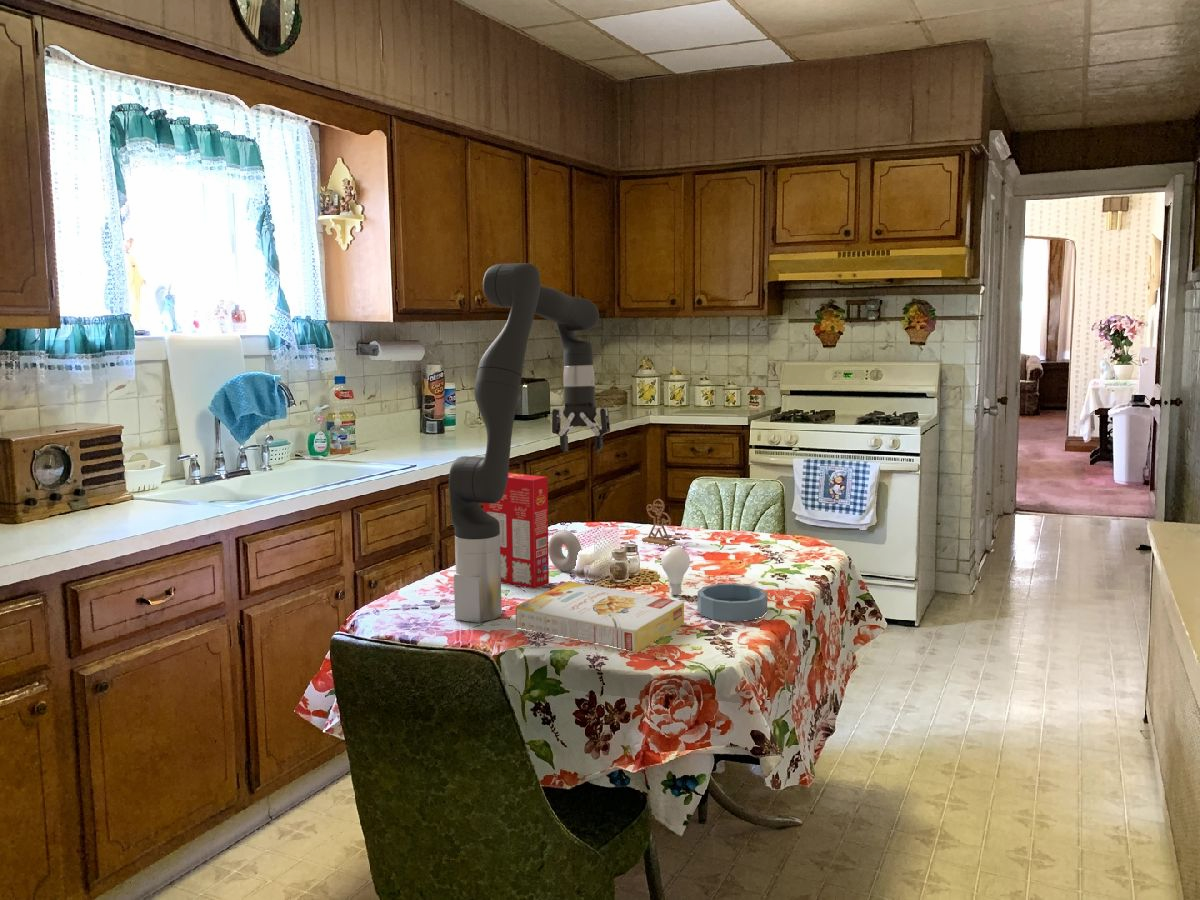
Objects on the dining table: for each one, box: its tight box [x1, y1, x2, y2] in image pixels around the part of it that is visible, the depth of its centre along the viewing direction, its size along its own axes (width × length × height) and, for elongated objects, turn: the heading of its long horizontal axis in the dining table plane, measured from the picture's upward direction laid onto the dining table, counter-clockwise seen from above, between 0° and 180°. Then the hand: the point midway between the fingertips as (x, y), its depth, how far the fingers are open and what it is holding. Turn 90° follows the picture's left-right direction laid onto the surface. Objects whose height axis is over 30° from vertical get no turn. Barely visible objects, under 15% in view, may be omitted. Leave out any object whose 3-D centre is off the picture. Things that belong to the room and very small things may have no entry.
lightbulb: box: [660, 546, 691, 597], centre depth 222 cm, size 6×6×11 cm
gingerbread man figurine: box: [641, 498, 677, 547], centre depth 271 cm, size 9×4×12 cm, turn 48°
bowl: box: [696, 583, 769, 622], centre depth 211 cm, size 14×14×4 cm
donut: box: [548, 530, 582, 572], centre depth 244 cm, size 10×3×10 cm, turn 48°
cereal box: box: [515, 580, 685, 653], centre depth 202 cm, size 20×6×28 cm
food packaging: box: [482, 472, 550, 589], centre depth 233 cm, size 15×5×25 cm, turn 57°
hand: (581, 451), depth 244 cm, fingers open, 8 cm apart
